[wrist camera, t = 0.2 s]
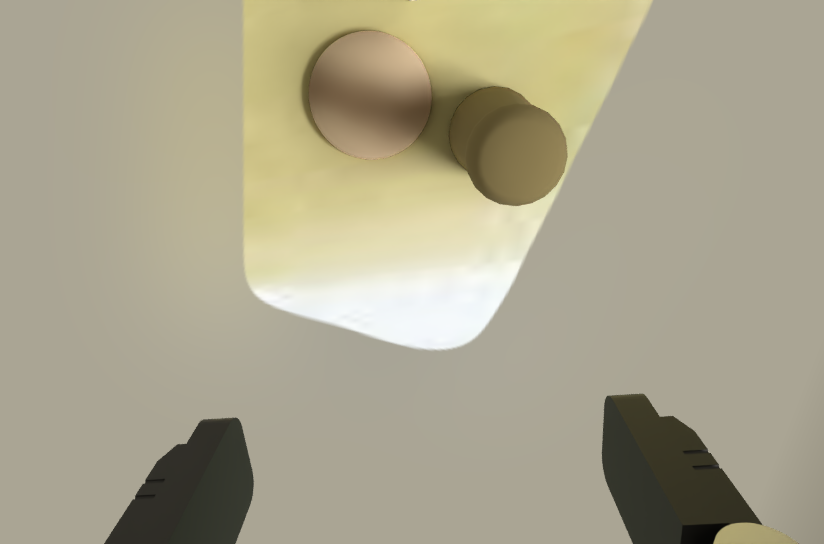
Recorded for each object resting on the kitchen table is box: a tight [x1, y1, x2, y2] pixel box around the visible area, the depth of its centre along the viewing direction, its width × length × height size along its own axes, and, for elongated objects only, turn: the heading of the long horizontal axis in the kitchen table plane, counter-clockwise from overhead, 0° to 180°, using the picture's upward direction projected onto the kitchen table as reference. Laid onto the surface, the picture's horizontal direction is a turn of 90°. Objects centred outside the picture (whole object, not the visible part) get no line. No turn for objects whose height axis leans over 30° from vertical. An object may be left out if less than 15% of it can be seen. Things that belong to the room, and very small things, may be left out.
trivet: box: [309, 31, 432, 159], centre depth 36 cm, size 8×8×1 cm
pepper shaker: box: [449, 86, 567, 206], centre depth 32 cm, size 6×6×11 cm
